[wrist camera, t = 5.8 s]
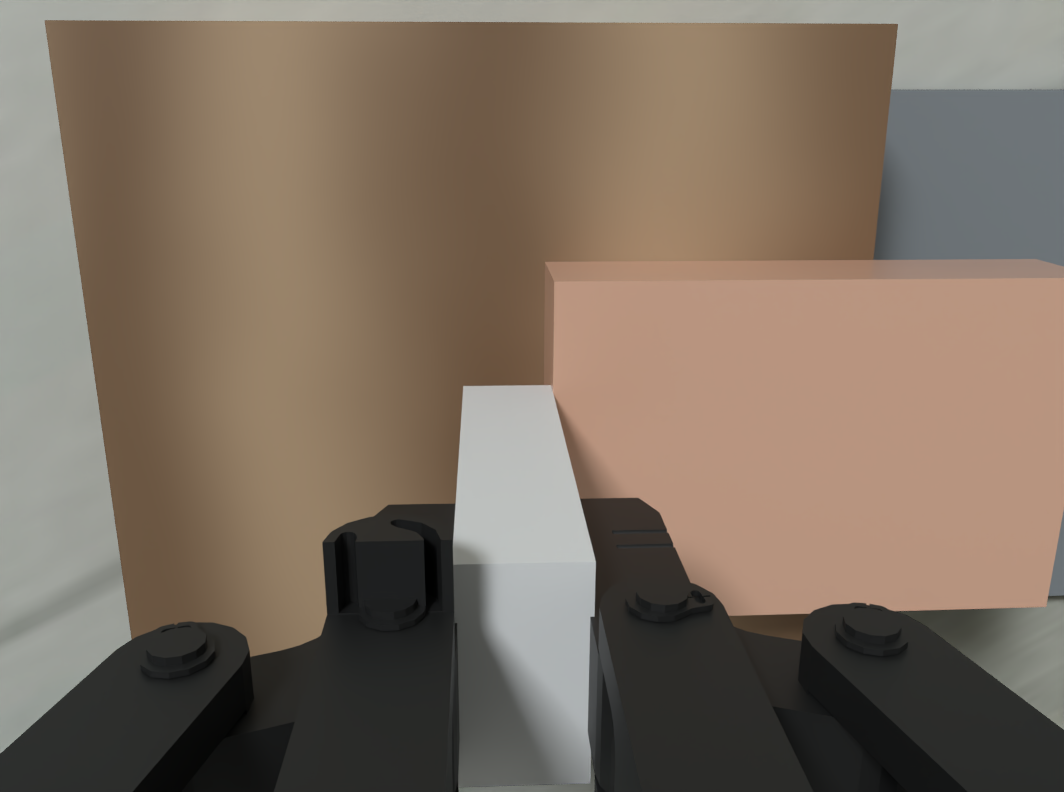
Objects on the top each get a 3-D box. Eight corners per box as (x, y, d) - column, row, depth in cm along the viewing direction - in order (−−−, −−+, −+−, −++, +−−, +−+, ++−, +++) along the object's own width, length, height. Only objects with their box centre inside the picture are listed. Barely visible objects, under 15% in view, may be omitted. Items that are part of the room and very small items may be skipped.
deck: (201, 651, 23) (148, 759, 19) (130, 37, 19) (44, 20, 15) (767, 632, 24) (823, 731, 20) (815, 39, 20) (897, 23, 16)
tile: (542, 567, 19) (550, 620, 17) (544, 261, 17) (554, 281, 15) (988, 556, 19) (1046, 606, 17) (1035, 258, 17) (1105, 277, 15)
